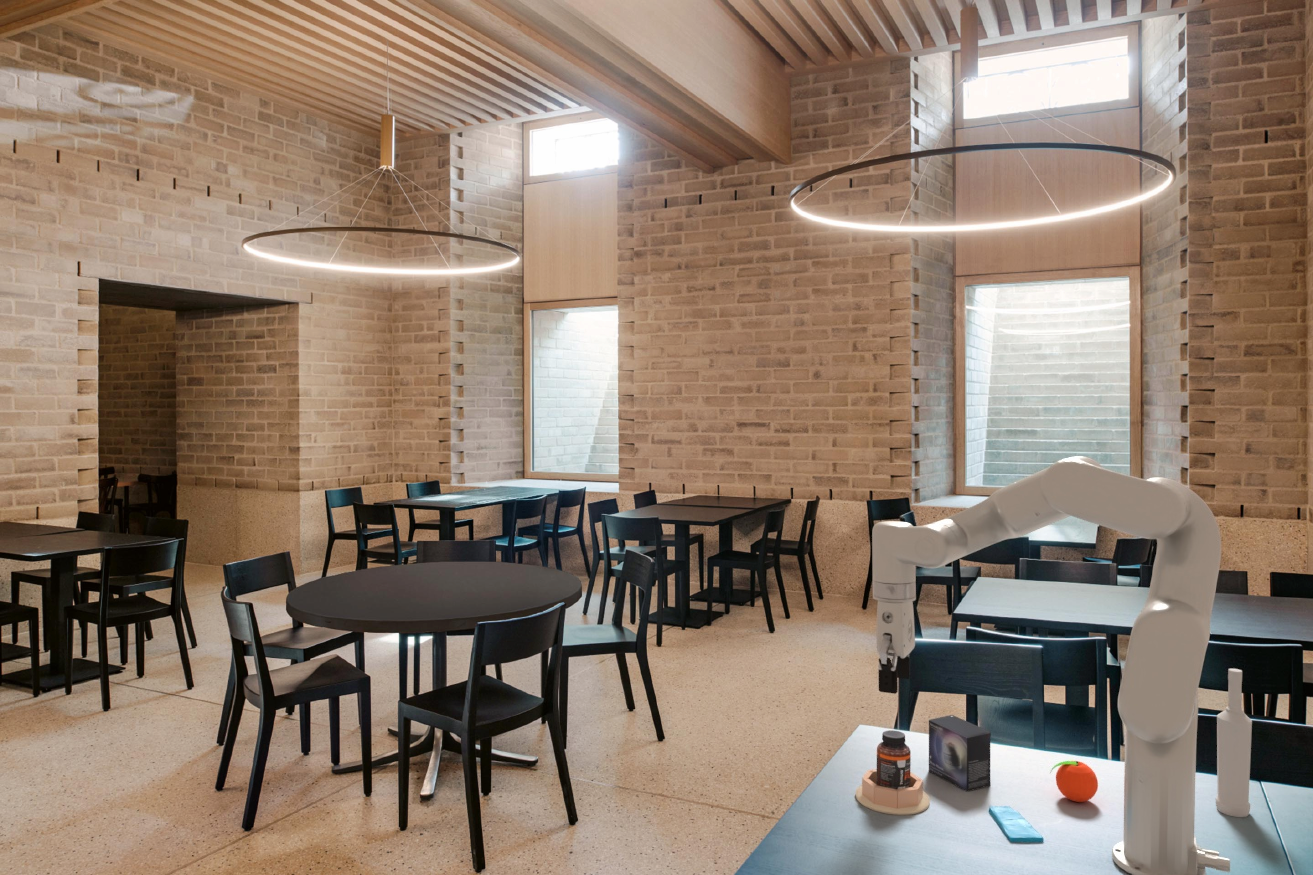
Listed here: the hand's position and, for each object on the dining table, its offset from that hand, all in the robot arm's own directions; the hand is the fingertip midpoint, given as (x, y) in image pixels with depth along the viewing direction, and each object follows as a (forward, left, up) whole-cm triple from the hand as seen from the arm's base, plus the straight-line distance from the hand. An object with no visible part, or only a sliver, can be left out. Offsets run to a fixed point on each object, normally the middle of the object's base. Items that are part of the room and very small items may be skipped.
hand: (894, 684), depth 162 cm
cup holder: (0, 0, -21) cm, 21 cm away
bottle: (-54, -23, -21) cm, 62 cm away
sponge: (-21, +1, -22) cm, 30 cm away
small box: (-9, -15, -21) cm, 27 cm away
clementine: (-29, -15, -21) cm, 39 cm away
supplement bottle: (0, 0, -21) cm, 21 cm away
